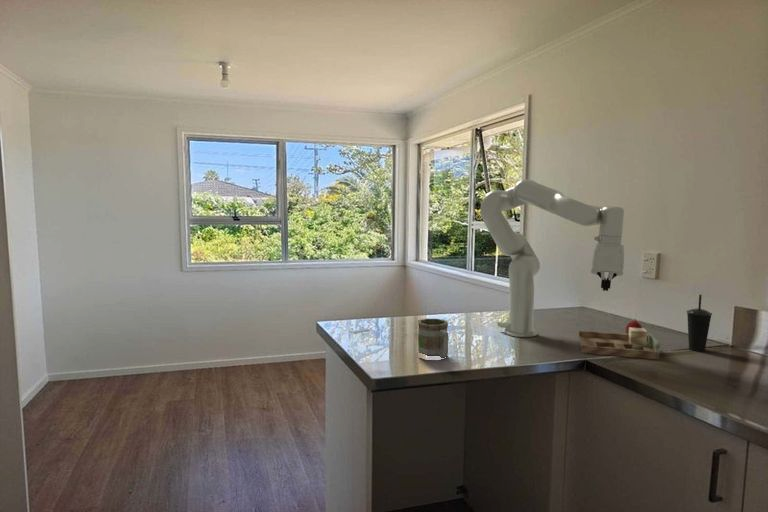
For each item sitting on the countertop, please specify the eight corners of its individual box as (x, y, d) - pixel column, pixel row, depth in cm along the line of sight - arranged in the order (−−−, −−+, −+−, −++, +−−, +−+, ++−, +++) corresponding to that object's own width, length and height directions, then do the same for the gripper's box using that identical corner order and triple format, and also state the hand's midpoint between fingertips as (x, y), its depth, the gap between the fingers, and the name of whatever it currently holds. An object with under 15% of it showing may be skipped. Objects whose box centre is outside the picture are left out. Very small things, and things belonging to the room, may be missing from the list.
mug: (411, 353, 165) (411, 319, 163) (439, 350, 168) (439, 317, 167) (431, 367, 150) (431, 330, 149) (461, 363, 154) (461, 327, 153)
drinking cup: (705, 347, 171) (709, 293, 169) (712, 353, 164) (716, 297, 162) (681, 345, 173) (685, 292, 171) (687, 351, 166) (691, 295, 164)
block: (630, 344, 166) (631, 330, 166) (628, 340, 171) (628, 327, 170) (646, 345, 165) (647, 331, 164) (643, 341, 169) (644, 328, 169)
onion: (644, 341, 179) (645, 321, 178) (627, 340, 180) (628, 320, 179) (639, 337, 184) (640, 317, 183) (623, 336, 185) (624, 317, 185)
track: (581, 352, 165) (582, 337, 164) (578, 342, 178) (579, 327, 178) (659, 359, 157) (659, 343, 157) (649, 347, 170) (650, 333, 170)
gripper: (588, 240, 169) (583, 290, 171) (634, 242, 164) (629, 294, 167) (586, 238, 176) (582, 286, 179) (631, 241, 171) (626, 290, 174)
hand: (605, 290), depth 172 cm, fingers closed
